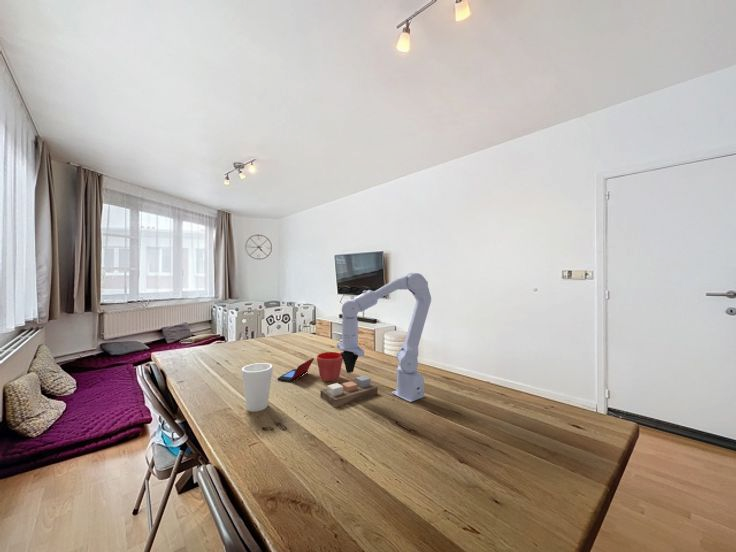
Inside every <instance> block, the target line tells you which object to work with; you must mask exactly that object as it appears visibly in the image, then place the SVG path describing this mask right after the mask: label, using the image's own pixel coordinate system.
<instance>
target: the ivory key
mask: <svg viewBox="0 0 736 552" xmlns="http://www.w3.org/2000/svg"><path fill="white" fill-rule="evenodd" d="M326 389H327V393H328V394H329V395H331V396H337V395H340V394H343V386H341V383H340V384H339V383H338V382H336V383H332V384H329V385H327V386H326Z"/></svg>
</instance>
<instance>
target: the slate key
mask: <svg viewBox="0 0 736 552" xmlns="http://www.w3.org/2000/svg"><path fill="white" fill-rule="evenodd" d="M354 381H355V384H357V386H359V387H361V388H363V387H367V386H370V383H371V378H370V377H368V376H366V375H360V376H357V377H355V380H354Z"/></svg>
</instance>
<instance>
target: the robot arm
mask: <svg viewBox="0 0 736 552" xmlns="http://www.w3.org/2000/svg"><path fill="white" fill-rule="evenodd" d="M398 290H406V291H407V290H408V291H409V292H410V293H411V294H412V295H413V297H414V299H415V301H416V302H415V305H414V309H413V312H412V315H411V319H410V322H409V325H408V326H409V327H408V329H407V333H406V337H405V340H404V342H403V343H402V345H401V347H400V349H399V351H398V352H397V353H396V360H397V362H398V366H397V368H396V390H393V391H392V392H391V394H393V395H395V396H397V397H399V398H401V399H403V400H405V401H407V402H409V403H412V402H414V401H417V400H420V399H423V398H425V397H426V394H425V379H424V376H423V375H422V374H421V373H420V372H418V366H419V361H418V356H419V344H420V340H421V338H422V336H423V335H422V333H423V331H424V327H425V323H426V319H427V317H428V313H429V309H430V305H431V302H432V296H431V292H430V288H429V282H428V281H427V279H426V278H425V277H424V276H423V274H421V273H417V272H414V273H413V272H410V273H408V274H406V275H403V276H400V277H398V278H397V277H396V278H395V279H394V280H392V281H390V282H389V283H388V282H387V283H386V284H385V285H382V286H381V287H380V288H378V289H376V290H371V289H368V290H366V289H364V290H363V291H362V293H361V294H359V295H356V296H352V297H351V298H350V300H346V301H345V302H344V303H343V305H342V307H341V314H342V317H341V318H342V321H341V341H340V342H336V349H339V351H341V352H339V353H340V354H341V356H342V358H343V360H342V361H343V363H344V367H345V371H346V373H347V374H351V373H353V372H354V369H355V366H356V363H357V360H358V358H360V357H364V356H365V350H364V349H362V348H361V347H360V346H359V322H358V314H359V313H363V312H365V311H366V310H368V309H369V308H372V307H375V306H376V305H377V304H378V300H379V299H381V298H383V297H385V296H387V295H389V294H392V293H394V292H395V291H398Z"/></svg>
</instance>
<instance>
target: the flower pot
mask: <svg viewBox="0 0 736 552" xmlns="http://www.w3.org/2000/svg"><path fill="white" fill-rule="evenodd" d="M340 353H341V352H337V351H327V352H321V353H319V354H317V355H316V361H317V367H318V372H319V377H320V380H321V379H322V380H324V381H323V382H326V381H331V382H334V380H335V381H338V380H340V379H339V378H340V375H341V371H342V365H343V361H344V360H343V358H342V356H341V354H340ZM337 379H338V380H337ZM322 380H321V381H322Z"/></svg>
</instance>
